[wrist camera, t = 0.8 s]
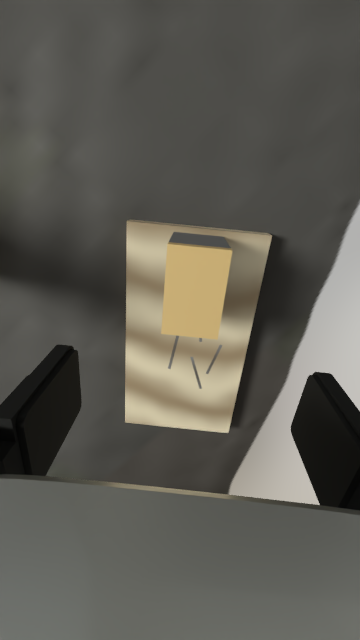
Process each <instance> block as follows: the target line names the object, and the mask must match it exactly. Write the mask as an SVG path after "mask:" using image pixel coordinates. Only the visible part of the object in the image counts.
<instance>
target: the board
mask: <svg viewBox="0 0 360 640" xmlns="http://www.w3.org/2000/svg"><path fill="white" fill-rule="evenodd" d="M173 232H182V233H192V234H202V235H212V236H222V237H224V238H225V240H226V241H227V243H228V244H229V246H230V247H231V249H232V250H233V251H232V257H231V263H230V269H229V275H228V281H227V287H226V293H225V299H224V305H223V311H222V317H221V323H220V329H219V335H218V340H216V339H207V338H197V337H187V336H177V335H167V334H161V328H162V314H163V299H164V285H165V270H166V256H167V244H168V242H169V240H170V238H171V236H172V234H173ZM271 238H272V235H270V234H268V233H261V232H251V231H241V230H231V229H221V228H211V227H201V226H191V225H181V224H171V223H161V222H151V221H140V220H128V221H127V262H126V381H125V422H126V423H136V424H145V425H155V426H165V427H174V428H184V429H193V430H203V431H213V432H222V433H228V432H229V428H230V423H231V419H232V414H233V410H234V405H235V401H236V396H237V392H238V387H239V383H240V378H241V374H242V369H243V365H244V360H245V356H246V351H247V347H248V342H249V338H250V333H251V329H252V324H253V320H254V315H255V311H256V306H257V302H258V297H259V293H260V288H261V284H262V279H263V275H264V270H265V266H266V261H267V257H268V252H269V248H270V243H271Z"/></svg>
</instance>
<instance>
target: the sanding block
mask: <svg viewBox="0 0 360 640" xmlns="http://www.w3.org/2000/svg"><path fill="white" fill-rule="evenodd" d="M232 251H233V250H232V249H231V247H230V246H229V244H228V243H227V241H226V240H225V238H224V237H222V236H212V235H202V234H192V233H182V232H173V234H172V236H171V238H170V240H169V242H168V244H167V256H166V270H165V285H164V299H163V314H162V328H161V334H167V335H177V336H187V337H197V338H207V339H216V340H218V335H219V329H220V323H221V317H222V311H223V305H224V299H225V293H226V287H227V281H228V275H229V269H230V263H231V257H232Z"/></svg>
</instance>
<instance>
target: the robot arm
mask: <svg viewBox="0 0 360 640" xmlns="http://www.w3.org/2000/svg"><path fill="white" fill-rule="evenodd" d="M80 408H81V389H80V375H79V361H78V351H77V350H74V348H73V347H72V346H67V345H56V346H55V347H54V349H53V350H52V351H51V352H50V353H49V354H48V355H47V356H46V357H45V359H44V360H43V361H42V362H41V363H40V364H39V365H38V366H37V367H36V368H35V370H34V371H33V372H32V373H31V374H30V375H28V376H27V377H26V378H25V379H24V380H23V381H22V382H21V383H20V384H19V385H18V386H17V387H16V389H15V390H14V391H13V392H12V393H11V394H10V395H9V396H8V397H7V398H6V399H5V401H4V402H3V403H2V404H1V405H0V640H360V411H359V410H358V409H357V407H356V406H355V405H354V403H353V402H352V401H351V399H350V398H349V397H348V395H347V394H346V393H345V391H344V390H343V389H342V387H341V386H340V385H339V383H338V382H337V381H336V380H335V378H334V377H333V376H332V375H331V374H329V373H320V372H315V373H314V374H313V375H310V376H309V377H308V379H307V382H306V385H305V387H304V390H303V393H302V396H301V399H300V402H299V405H298V407H297V410H296V413H295V416H294V419H293V422H292V425H291V433H292V436H293V439H294V441H295V444H296V446H297V448H298V451H299V453H300V456H301V458H302V461H303V463H304V466H305V469H306V471H307V474H308V476H309V478H310V481H311V484H312V486H313V488H314V491H315V493H316V496H317V498H318V501H319V503H320V505H313V504H305V503H296V502H287V501H279V500H269V499H261V498H253V497H244V496H235V495H226V494H216V493H207V492H198V491H189V490H180V489H170V488H161V487H152V486H142V485H132V484H123V483H113V482H103V481H93V480H84V479H72V478H61V477H49V476H46V474H47V472H48V470H49V468H50V466H51V464H52V462H53V461H54V459H55V457H56V455H57V453H58V451H59V449H60V447H61V445H62V443H63V442H64V440H65V438H66V436H67V434H68V432H69V430H70V428H71V426H72V424H73V423H74V421H75V419H76V417H77V415H78V413H79V411H80Z"/></svg>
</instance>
